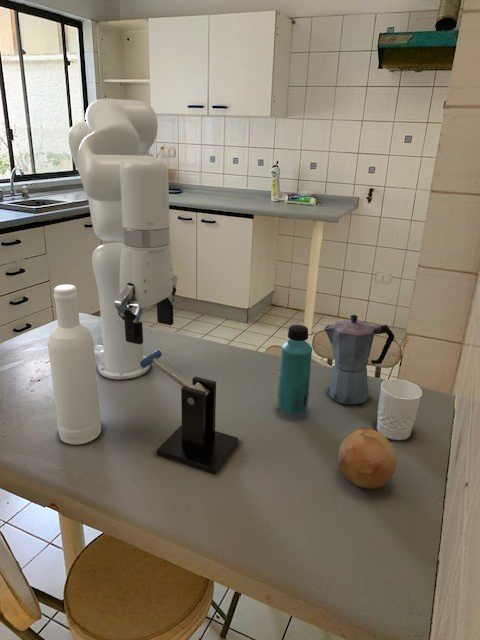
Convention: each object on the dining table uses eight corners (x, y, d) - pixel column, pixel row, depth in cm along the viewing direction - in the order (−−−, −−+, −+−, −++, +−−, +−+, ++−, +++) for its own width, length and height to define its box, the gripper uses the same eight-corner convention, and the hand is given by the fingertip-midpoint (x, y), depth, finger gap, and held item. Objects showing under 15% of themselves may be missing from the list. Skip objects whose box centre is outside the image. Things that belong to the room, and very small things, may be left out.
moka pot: (314, 383, 112) (322, 306, 105) (377, 386, 112) (390, 309, 105) (319, 404, 104) (328, 322, 96) (388, 408, 103) (403, 325, 96)
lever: (138, 366, 84) (142, 357, 82) (153, 356, 88) (157, 346, 87) (195, 409, 81) (201, 400, 80) (208, 396, 86) (214, 387, 84)
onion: (404, 495, 78) (414, 446, 74) (351, 506, 75) (360, 455, 72) (373, 458, 87) (381, 413, 83) (325, 467, 84) (331, 420, 80)
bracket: (157, 454, 86) (154, 389, 80) (184, 426, 94) (183, 366, 89) (215, 474, 81) (216, 407, 76) (238, 442, 90) (240, 380, 85)
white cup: (385, 415, 101) (392, 374, 97) (420, 431, 95) (429, 389, 92) (366, 429, 95) (373, 387, 92) (401, 447, 90) (410, 403, 86)
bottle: (50, 438, 89) (29, 290, 78) (77, 417, 96) (62, 278, 84) (84, 449, 86) (67, 297, 75) (110, 427, 93) (98, 284, 82)
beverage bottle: (305, 422, 97) (314, 335, 89) (274, 418, 98) (280, 331, 91) (307, 406, 103) (316, 323, 95) (278, 402, 104) (284, 319, 96)
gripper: (156, 227, 85) (159, 314, 92) (93, 244, 71) (102, 346, 77) (192, 231, 83) (192, 320, 89) (134, 250, 68) (139, 355, 74)
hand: (150, 332), depth 83 cm, fingers open, 9 cm apart
